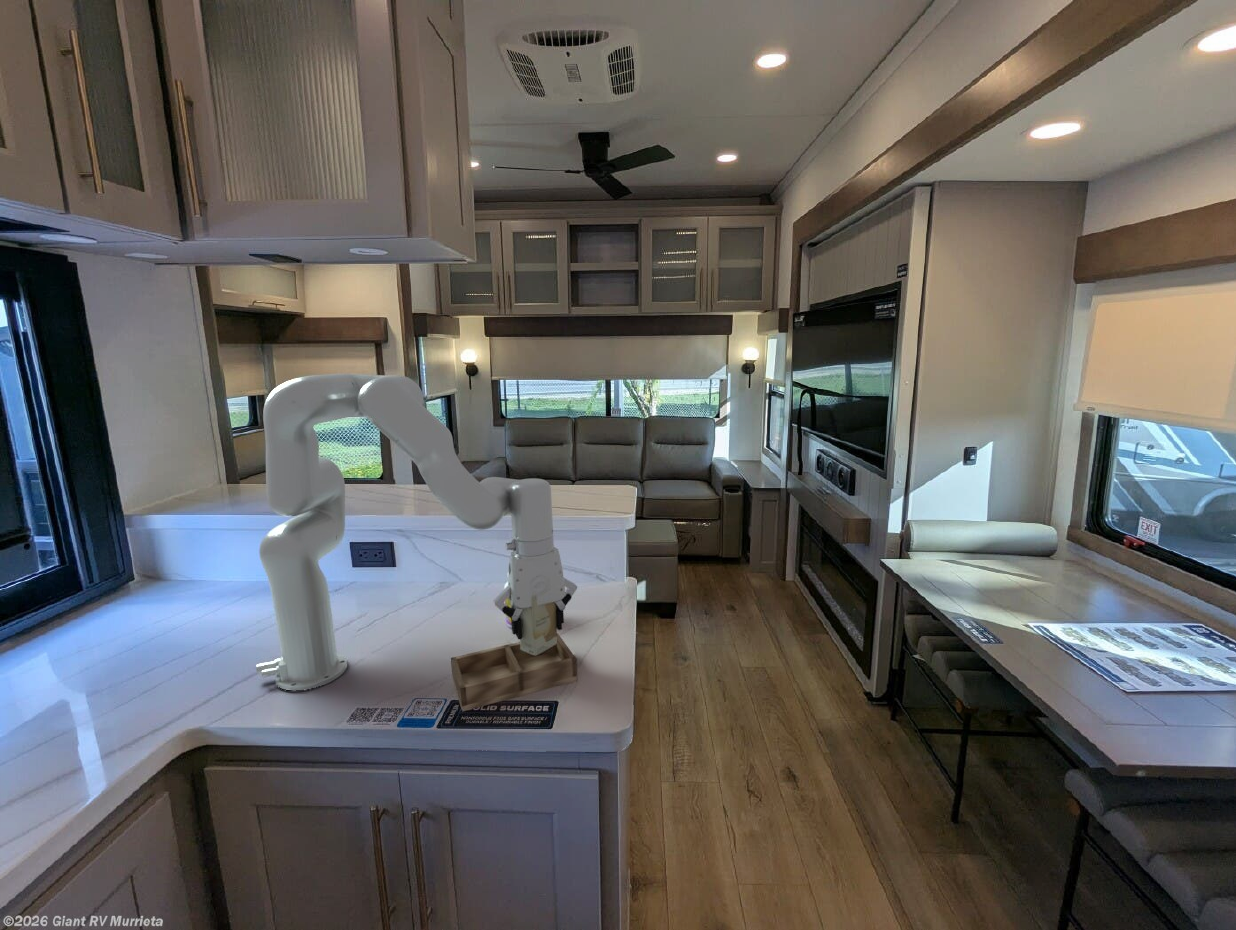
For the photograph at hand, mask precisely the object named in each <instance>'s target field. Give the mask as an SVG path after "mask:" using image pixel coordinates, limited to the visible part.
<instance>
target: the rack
mask: <svg viewBox="0 0 1236 930" xmlns="http://www.w3.org/2000/svg"><path fill="white" fill-rule="evenodd" d="M577 661H578V659H577V658H576V656H575V654H573V652H572V651H571V649H570V648H569V646H568V645H567V644H566V642H565V641H564V640H563V639H562V637H561V635H560V634H559V633H557V644H555V645H554V646H552V647H550V648H549V649H547V650H545V651H544V652H542V653H540V654H538V655H536V656H534V655H532V654H529V653H527V652H525V651H523V650H521V649H520V641H518V642H513V643H509V644H504V645H501V646H496V647H492V648H488V649H484V650H479V651H475V652H470V653H466V654H461V655H457V656H453V657H450V664H451V665H450V667H451V677H452V678H451V679H452V681H453V685H454V688H455V691H456V696H457V699H458V702H459V705H460V708H461V711H462V712H466V711H470V710H473V708H474V709H478V708H480V707H485V706H488V705H491V704H495V703H500V702H503V701H506V700H510V699H513V698H517V697H518V698H519V697H520V696H522V697H523V696H526V695H529V694H532V693H536V692H540V691H543V690H547V689H551V688H555V687H559V686H561V685H565V684H569V683H572V682H577V681H578V664H577V663H578V662H577Z"/></svg>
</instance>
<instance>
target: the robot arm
mask: <svg viewBox="0 0 1236 930" xmlns="http://www.w3.org/2000/svg"><path fill="white" fill-rule="evenodd" d="M262 413H263V414H262V419H263V421H262V422H263V428H264V438H265V439H264V440H265V481H266V482H265V485H266V486H265V491H266V499H267V500H266V501H267V503H268V505H269V508H270V509H271V510H272V511H273V512H274V513H275V514H276V515H279V516H282V517H287V518H288V517H289V518H290V517H292V518H290V519H288V520H286V521H284V522H281V523H280V524H278V525H276V526H274V527H273V528H272V529H271V530H269V531H268V532H267V533H266V534H265V535H264V537H262V540H261V542H260V545H259V550H258V551H259V559H260V562H261V565H262V568H263V570H264V572H265V575H266V577H267V580H268V584H269V589H270V592H271V600H272V605H273V609H274V617H275V622H276V629H277V635H278V643H279V649H280V657H277V658H275V659H274V660H272V661H264V662H258V663H257V664H256V674H258V675H259V674H261V675H262V676H261V677H262V678H267V677H271V676H274V675H275V677H274V679H275V684H276V686H277V685H278V686H277V688H279V687H280V688H283V689H286V690H304V689H306V690H304V691H308V690H307V689H309V690H312V689H311V688H314V689H317V688H319V687H318V686H320V687H322V685H323V686H324V685H327V684H329V683H331V682H333V681H335V680H336V679H338V678H340V676H342V675H343V673H345V671H346V670H347V668H348V660H347V657H346V656H345V655H343V654H342V653H340V652H339V653H338V651H337V650H338V649H337V644H336V643H337V642H336V636H335V627H334V620H333V612H332V605H331V597H330V590H329V585H328V584H329V583H328V581H327V578H326V576H325V574H324V572H323V571H322V569H321V567H320V564H319V561H320V560H322V558H323V557H325V556H326V555H328V554H330V553H331V552H333V551H334V550H335V549H336V548H337V547H338V546H340V544H341V542H342V541H343V539H344V535H345V529H346V484H345V479H344V475H343V472H342V470H340V468H339V466H338V465H337V464H336V463H335V462H334V461H332V460H330V459H328V458H327V457H321V456H319V455H320V454H319V453H320V443H319V438H318V436H317V432H316V431H315V428H314V426H315V425H317V424H323V423H327V422H333V421H337V420H341V419H342V420H343V419H346V418H366V420H368V421H369V422H370V423H371V424H372V425H373V426H375V428H377V429H378V430H379V431H380V432H381V434H383V435H384V436H386V438H387V439H389V440H390V441H391V442H392V443H393V444H394V445H395V446H397V448H398V449H399V450H401V451H402V452H403V453H404V454H405V455H406V456H407V457H408V458H410V460H411V461H412V462H413V463H414V464H415V465H416V466H417V469H418V472H419V473H420V475H421V477H422V478H423V480H424V482H425V484H426V486H427V488H428V489H429V490H430V492H431V494H432V495H433V496H434V497H435V498H436V499H437V501H438V502H439V503H440V504H441V505H442V506H444V507H445V508H446V510H448V511H449V512H450V513H451V514H452V515H453V516H455V517H456V518H457V519H458V521H460V522H461V523H463V524H465V525H466V526H467V527H470V528H471V529H475V530H480V531H483V530H489V529H492V528H493V527H495V526H496V525H497V524H498V523H499V522H500V521H501V520H502V519H503V517H505V516H507V515H510V516H511V528H512V529H511V531H512V533H511V534H512V537H511V540H510V541H509V542H505V549H506V551H511V553H510V555H509V556H510V557H509V562H508V571H509V572H508V571H507V573H508V578H507V582H508V586H507V587H506V588H505V589H504V588H503V590H502V591H501V592H500V593H499V594H498V595H497V596H496V597H495V598H494V599H493V604H494V606H495V607H496V608H498V610H500V611H501V612H502V613H503V614H504V615H505V616H506V615H507V616H509V617H510V618H511V625H512V628H511V632H512V635H515V636H516V638H517V639H518V640H519V641H520V639H521V638H522V624H521V619H520V617H519V615H520V613H521V611H522V609H525V608H530V607H532V596H533V595H537V605H545V604H549V603H554V602H555V603H556V626H557V631H561V630H563V626H562V625H563V624H564V623H565V616H564V615H565V614H564V610H566V606H567V605H568V603H569V602H570V601H571V599H572V598H573V597H572V596H574V594H575V593H576V591H577V590H578V585H576V583H574V582H573V581H572V580H569V579H567V578H566V577H564V572H563V564H562V559H561V554H560V551H559V549H558V548H557V547H555V543H554V542H555V541H554V526H553V525H554V524H553V521H554V520H553V507H552V506H553V505H552V504H553V503H552V502H553V501H552V489H551V484H550V482H548V480H545V479H543V478H523V479H514V478H506V477H501V476H500V477H499V476H490V477H485V478H484V479H482V480H481V481H479V480H478V479H476V478H475V477H474V476H473V475H472V473H470V472H469V471H468V470H467V469H466V467H464V465H463V464H462V463H461V461H460V459H459V458H458V455H457V453H456V450H455V447H454V439H453V435H452V432H451V431H450V429H449V428H448V427H447V426H446V425H445V424H444V423H443V422H441V421H440V419H438V418H437V417H436V416H435V415H434V414H433V413H432V412H430V411H429V410H428V409H427V408H426V407H425V406H424V395H423V391H422V389H421V387H420V386H419V384H417V383H416V381H414V380H413V379H412V378H410V377H408V376H405V375H397V374H396V375H395V374H394V375H393V374H391V375H388V374H387V375H386V374H383V375H382V374H363V373H362V374H360V373H330V374H315V375H314V374H313V375H306V376H300V377H296V378H293V379H291V380H287V381H285V382H283V383H281V384H279V385H278V386H276V387H275V388H274V389H273V390H272V391H271V392H270V393H269V394H268V396H267V398H266V400H265V402H264V406H263V412H262ZM508 597H509V598H510V600H512V605H511V607H509V606H507V605H505V600H506V599H507V598H508ZM316 687H317V688H316ZM280 688H279V689H280ZM286 690H285V691H286Z"/></svg>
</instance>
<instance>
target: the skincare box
mask: <svg viewBox="0 0 1236 930" xmlns="http://www.w3.org/2000/svg"><path fill="white" fill-rule="evenodd" d="M519 617H520V619H521V624H522V638H521V639H519V642H520V649H521V650H523V651H525V652H527V653H529V654H532V655H534V656H536V655H538V654H540V653H542V652H544V651H545V650H547V649H549V648H550V647H552V646H554V645H555V644H557V632H558V629H557V626H556V603H555V602H554V603H549V604H545V605H537V595H533V596H532V607H530V608H525V609H522V611H521V613H520V615H519Z"/></svg>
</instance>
